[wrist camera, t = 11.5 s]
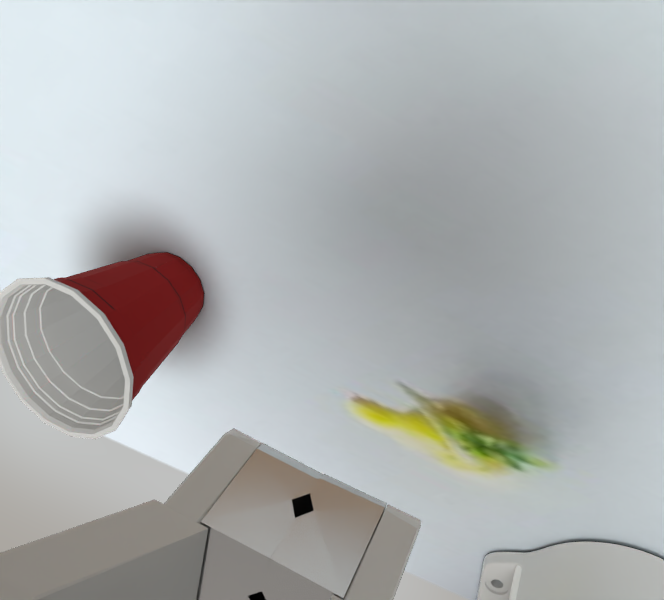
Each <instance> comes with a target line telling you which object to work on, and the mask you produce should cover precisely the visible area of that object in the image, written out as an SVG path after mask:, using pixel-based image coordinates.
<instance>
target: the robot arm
mask: <svg viewBox="0 0 664 600" xmlns="http://www.w3.org/2000/svg"><path fill="white" fill-rule="evenodd" d="M386 505H387V503H385V502H383V501H381V500H379V499H377V498H374V497H372V496H370V495H368V494H366V493H364V492H362V491H360V490H358V489H355V488H353V487H351V486H349V485H347V484H345V483H343V482H341V481H339V480H336V479H334V478H332V477H330V476H328V475H326V474H322V473H320V472H318V471H316V470H314V469H312V468H310V467H308V466H306V465H304V464H302V463H301V462H299V461H297V460H295V459H293V458H291V457H289V456H287V455H285V454H283V453H281V452H279V451H278V450H276V449H274V448H272V447H270V446H268V445H266V444H264V443H261V442H259V441H257V440H255V439H253V438H252V437H250V436H248V435H246V434H244V433H242V432H240V431H238V430H236V429H232V430H230V431H229V432H227V433H225V434H224V435H223V436H222V437H221V439H220V440H219V441H218V442H217V443H216V444H215V445H214V447H213V448H212V449H211V450H210V451H209V452H208V453H207V455H206V456H205V457H204V458H203V459H202V460H201V462H200V463H199V464H198V465H197V466H196V467H195V468H194V470H193V471H192V472H191V473H190V474H189V475H188V477H187V478H186V479H185V480H184V481H183V482H182V483H181V485H180V486H179V487H178V488H177V489H176V490H175V491H174V493H173V494H172V495H171V496H170V497H169V498H168V500H167V501H166V502H165V503H164V504H162V503H161V502H159V501H157V500H152V501H149V502H146V503H143V504H140V505H137V506H134V507H131V508H128V509H126V510H123V511H120V512H117V513H114V514H111V515H108V516H105V517H102V518H100V519H97V520H94V521H91V522H88V523H85V524H82V525H79V526H76V527H73V528H71V529H68V530H65V531H62V532H59V533H56V534H53V535H50V536H48V537H44V538H41V539H39V540H36V541H33V542H30V543H27V544H24V545H21V546H18V547H15V548H13V549H10V550H7V551H4V552H1V553H0V600H393V599H394V596H395V594H396V591H397V588H398V586H399V583H400V580H401V578H402V575H403V572H404V570H405V567H406V564H407V562H408V559H409V556H410V553H411V551H412V548H413V545H414V543H415V540H416V537H417V535H418V532H419V529H420V526H421V520H419V519H417V518H415V517H413V516H411V515H409V514H407V513H405V512H403V511H401V510H399V509H396V508H394V507H392V506H390V505H387V507H386ZM385 508H386V509H385ZM477 600H664V560H663V559H661V558H659V557H657V556H654V555H652V554H649V553H646V552H644V551H640V550H637V549H634V548H630V547H626V546H621V545H617V544H610V543H602V542H570V543H563V544H558V545H553V546H550V547H547V548H543V549H540V550H537V551H533V552H527V553H521V552H493V553H490V554H488V555H487V556H486V557H485V558H484V562H483V567H482V573H481V578H480V584H479V589H478V595H477Z"/></svg>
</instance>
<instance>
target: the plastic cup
mask: <svg viewBox="0 0 664 600" xmlns="http://www.w3.org/2000/svg"><path fill="white" fill-rule="evenodd" d="M203 299H204V292H203V289H202V285H201V282H200V279H199V278H198V276H197V275H196V273H195V272H194V270H193V269H192V267H191V266H190V265H189V264H187V263H186V262H185V261H184V260H182V259H181V258H180V257H178V256H175V255H173V254H170V253H167V252H166V253H154V254H146V255H143V256H140V257H137V258H134V259H131V260H128V261H121V262H117V263H114V264H110V265H107V266H104V267H100V268H97V269H93V270H90V271H87V272H83V273H80V274H76V275H73V276H70V277H66V278H57V279H51V278H24V279H17V280H16V281H14V282H13V283H11V284H10V285H9V286H7V287H6V288H5V289H3V290H2V291H1V292H0V367H1V370H2V372H3V375H4V376H5V378H6V379H7V380H8V382H9V384H10V385H11V387H12V388H13V390H14V391H15V392H16V394H17V396H18V397H19V398H20V400H21V402H22V403H24V404H25V405H26V406H27V407H28V408H29V409H30V410H31V411H32V412H33V413H34V414H35V415H37V416H38V417H39V418H40V419H41V420H42V421H43V422H44V423H45V424H47V425H49V426H51V427H53V428H55V429H57V430H59V431H61V432H63V433H65V434H67V435H69V436H71V437H80V438H90V439H97V438H99V437H102V436H104V435H106V434H108V433H111V432H113V431H115V430H116V429H117V428H118V426H119V425H120V423H121V422H122V420H123V418H124V417H125V415H126V414H127V412H128V410H129V409H130V407H131V406H132V400H133V399H134V397H135V396H136V395H137V394H138V393H139V391H140V389H141V388H142V386H143V385H144V384H145V382H146V381H147V380H148V379H149V378H150V376H151V375H152V374H153V373H154V371H155V370H156V369H157V368H158V367H159V365H160V364H161V363H162V362H163V361H164V359H165V358H166V357H167V356H168V354H169V353H170V352H171V351H172V350H173V348H174V347H175V346H176V345H177V344H178V342H179V340H180V339H181V337H182V335H183V334H184V333H185V332H186V330H187V329H188V328H189V327H190V326H191V324H192V323H193V322H194V321H195V319H196V317H197V316H198V314H199V312H200V310H201V308H202V307H203Z"/></svg>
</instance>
